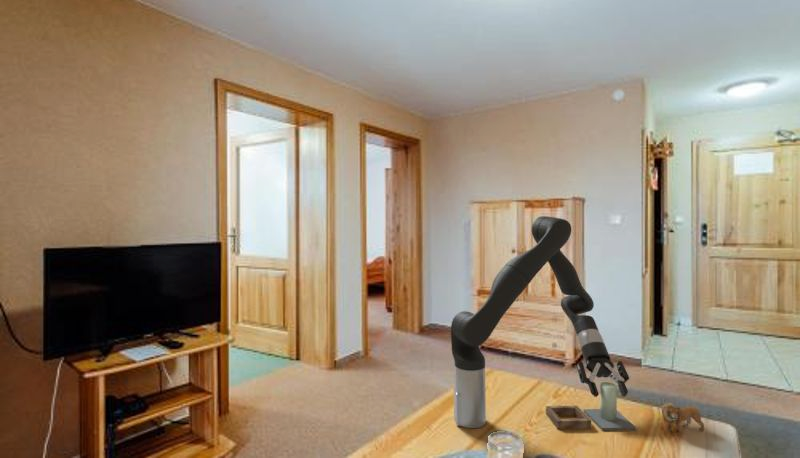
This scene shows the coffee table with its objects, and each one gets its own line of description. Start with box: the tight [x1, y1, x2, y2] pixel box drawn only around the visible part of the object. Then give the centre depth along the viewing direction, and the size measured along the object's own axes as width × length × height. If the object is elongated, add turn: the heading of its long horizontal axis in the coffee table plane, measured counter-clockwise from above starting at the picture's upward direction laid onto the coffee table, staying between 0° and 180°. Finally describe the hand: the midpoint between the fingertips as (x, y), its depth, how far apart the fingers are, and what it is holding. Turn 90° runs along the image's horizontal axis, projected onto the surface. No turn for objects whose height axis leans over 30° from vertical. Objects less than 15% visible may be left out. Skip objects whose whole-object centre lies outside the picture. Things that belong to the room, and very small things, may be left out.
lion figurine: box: [661, 402, 705, 436], centre depth 119 cm, size 15×5×9 cm, turn 110°
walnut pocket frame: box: [545, 405, 592, 431], centre depth 126 cm, size 10×10×2 cm
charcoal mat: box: [582, 408, 637, 432], centre depth 126 cm, size 10×12×1 cm
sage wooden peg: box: [599, 381, 618, 421], centre depth 126 cm, size 4×4×10 cm
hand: (610, 395), depth 125 cm, fingers open, 8 cm apart
